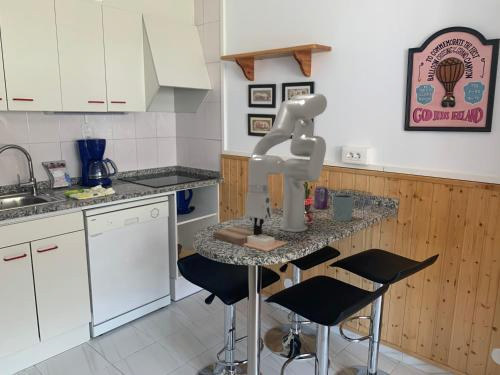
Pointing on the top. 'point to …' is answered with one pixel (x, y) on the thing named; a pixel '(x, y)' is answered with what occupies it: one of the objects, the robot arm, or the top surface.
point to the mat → (268, 248)
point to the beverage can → (321, 197)
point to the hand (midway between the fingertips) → (257, 234)
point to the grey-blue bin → (343, 207)
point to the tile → (260, 240)
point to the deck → (234, 234)
